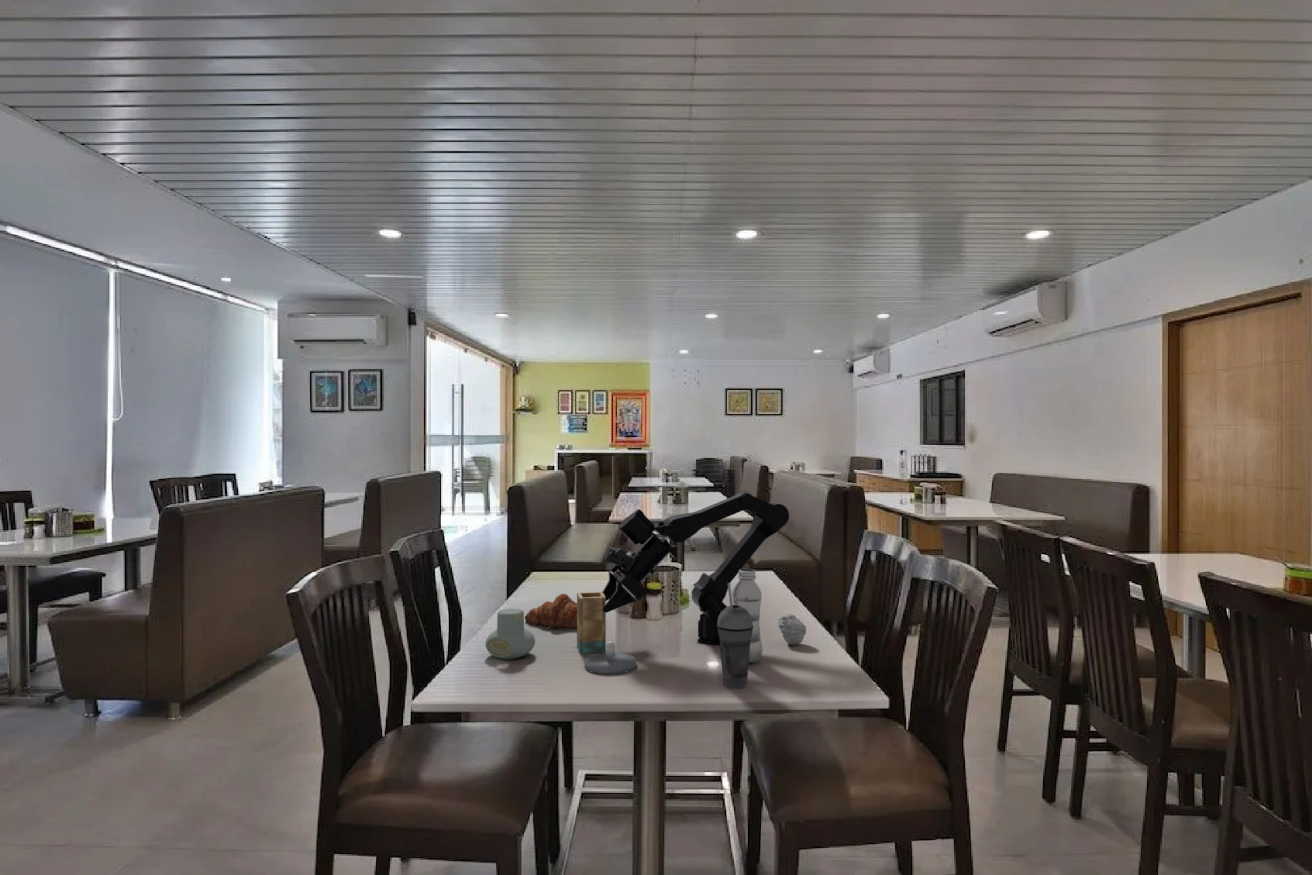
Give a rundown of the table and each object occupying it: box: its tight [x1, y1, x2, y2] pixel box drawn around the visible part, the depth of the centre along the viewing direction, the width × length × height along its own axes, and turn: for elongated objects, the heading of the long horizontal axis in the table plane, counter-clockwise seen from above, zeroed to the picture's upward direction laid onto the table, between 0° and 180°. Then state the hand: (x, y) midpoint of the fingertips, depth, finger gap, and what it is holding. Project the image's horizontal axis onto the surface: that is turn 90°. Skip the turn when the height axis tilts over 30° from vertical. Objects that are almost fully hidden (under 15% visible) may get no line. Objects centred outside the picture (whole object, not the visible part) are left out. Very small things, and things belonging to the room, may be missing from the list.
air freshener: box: [485, 608, 536, 661], centre depth 152 cm, size 11×8×10 cm
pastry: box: [524, 593, 577, 630], centre depth 179 cm, size 17×15×8 cm
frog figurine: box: [777, 613, 807, 646], centre depth 160 cm, size 6×7×7 cm
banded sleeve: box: [576, 591, 607, 654], centre depth 157 cm, size 6×6×12 cm
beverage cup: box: [717, 583, 753, 690], centre depth 133 cm, size 7×7×20 cm
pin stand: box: [584, 640, 637, 675], centre depth 144 cm, size 11×11×5 cm
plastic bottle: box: [731, 568, 763, 664], centre depth 147 cm, size 6×7×20 cm
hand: (601, 606), depth 157 cm, fingers open, 9 cm apart
